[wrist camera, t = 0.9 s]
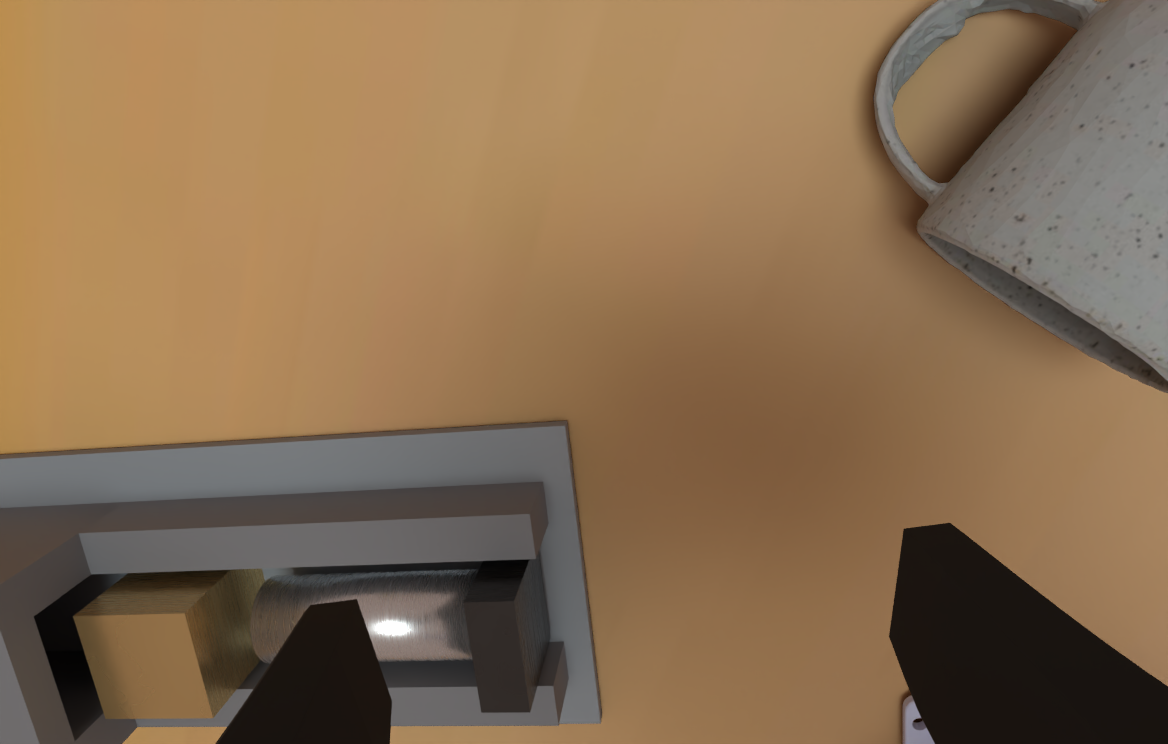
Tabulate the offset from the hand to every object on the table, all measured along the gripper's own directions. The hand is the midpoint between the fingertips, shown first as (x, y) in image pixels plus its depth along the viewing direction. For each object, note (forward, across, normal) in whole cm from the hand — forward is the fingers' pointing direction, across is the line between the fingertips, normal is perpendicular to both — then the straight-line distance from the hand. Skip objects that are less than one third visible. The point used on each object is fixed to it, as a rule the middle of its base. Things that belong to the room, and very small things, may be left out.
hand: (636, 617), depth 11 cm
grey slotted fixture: (+16, +12, +13) cm, 24 cm away
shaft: (+14, +7, +13) cm, 20 cm away
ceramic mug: (+15, -14, 0) cm, 21 cm away
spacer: (+16, +15, +13) cm, 25 cm away
